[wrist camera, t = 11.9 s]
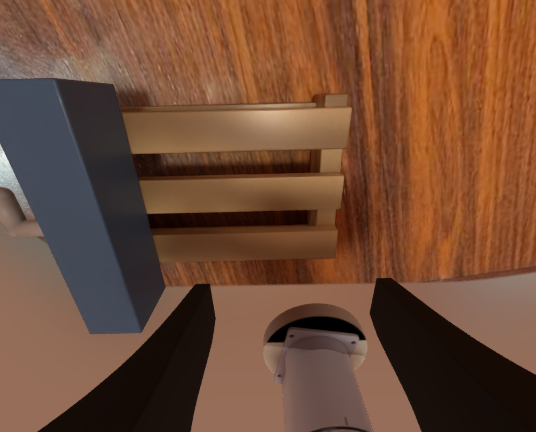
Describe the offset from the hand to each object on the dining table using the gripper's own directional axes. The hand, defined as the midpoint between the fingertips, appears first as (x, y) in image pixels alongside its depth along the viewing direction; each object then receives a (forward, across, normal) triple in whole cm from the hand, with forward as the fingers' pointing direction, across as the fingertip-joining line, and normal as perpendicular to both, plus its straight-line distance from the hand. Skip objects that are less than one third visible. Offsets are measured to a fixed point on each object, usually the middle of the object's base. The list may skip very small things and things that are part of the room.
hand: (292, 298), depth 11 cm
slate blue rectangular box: (+5, +11, -3) cm, 12 cm away
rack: (+9, +5, -3) cm, 10 cm away
